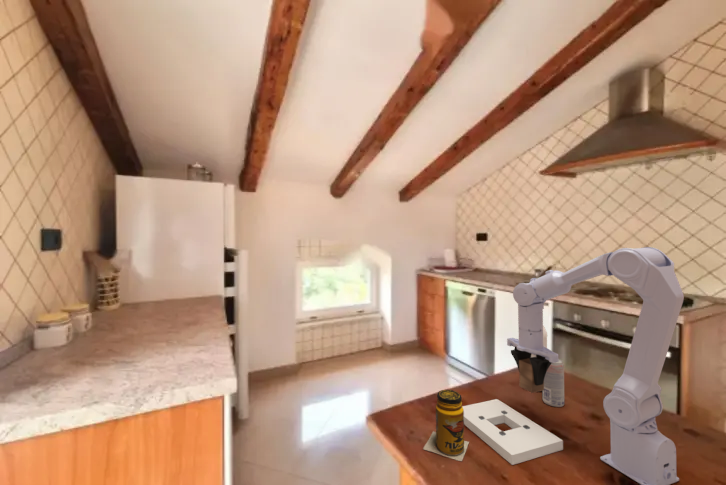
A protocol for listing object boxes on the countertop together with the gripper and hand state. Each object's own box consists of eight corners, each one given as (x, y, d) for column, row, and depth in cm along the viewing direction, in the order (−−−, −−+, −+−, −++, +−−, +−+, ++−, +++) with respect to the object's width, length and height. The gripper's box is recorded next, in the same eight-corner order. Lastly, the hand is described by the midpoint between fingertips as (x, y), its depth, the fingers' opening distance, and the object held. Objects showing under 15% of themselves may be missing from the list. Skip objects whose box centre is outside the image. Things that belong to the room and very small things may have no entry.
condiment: (461, 462, 67) (461, 404, 67) (422, 449, 72) (422, 395, 72) (469, 443, 74) (468, 390, 74) (432, 432, 78) (432, 382, 78)
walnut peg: (543, 390, 83) (543, 363, 83) (531, 392, 82) (531, 365, 82) (531, 383, 87) (530, 357, 87) (519, 386, 86) (519, 359, 86)
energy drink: (558, 398, 94) (557, 356, 94) (568, 407, 88) (567, 363, 88) (539, 397, 94) (538, 356, 94) (547, 407, 89) (547, 363, 89)
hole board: (562, 449, 71) (562, 439, 71) (512, 465, 66) (512, 453, 66) (497, 406, 90) (496, 397, 90) (454, 415, 85) (453, 407, 85)
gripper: (498, 323, 90) (498, 372, 90) (542, 338, 77) (543, 395, 77) (518, 321, 93) (518, 369, 93) (564, 334, 79) (565, 390, 79)
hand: (531, 380), depth 85 cm, fingers closed on walnut peg, 4 cm apart
